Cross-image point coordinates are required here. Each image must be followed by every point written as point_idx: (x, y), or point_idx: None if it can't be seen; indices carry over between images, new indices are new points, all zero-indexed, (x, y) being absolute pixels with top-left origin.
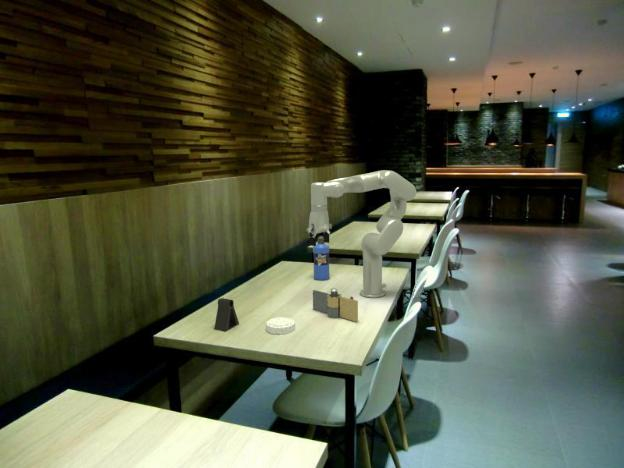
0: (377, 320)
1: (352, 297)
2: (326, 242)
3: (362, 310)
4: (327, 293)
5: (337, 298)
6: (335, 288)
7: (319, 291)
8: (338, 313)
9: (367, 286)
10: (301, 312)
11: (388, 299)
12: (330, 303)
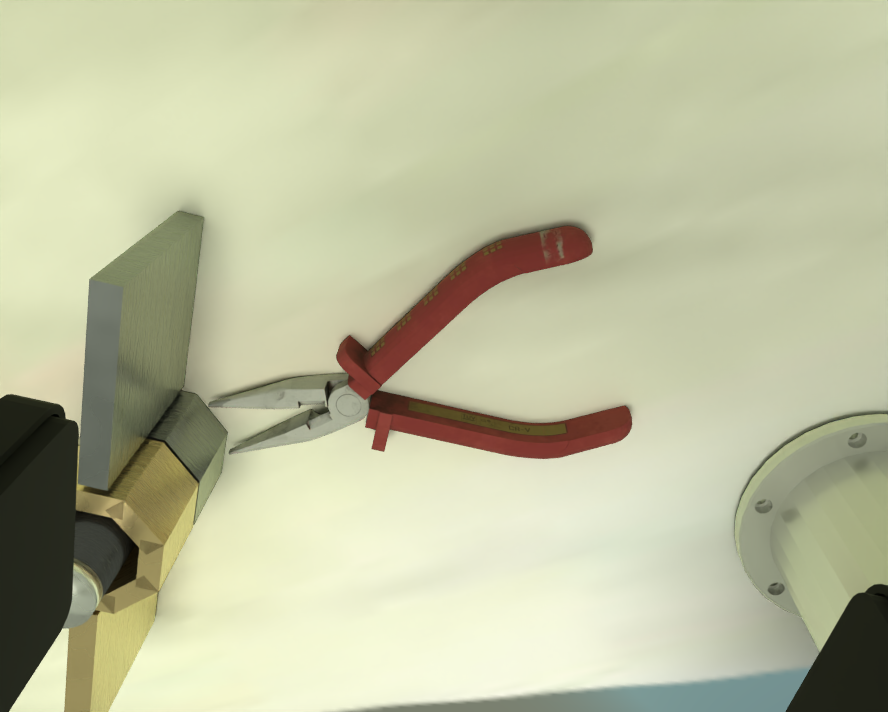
0: (253, 703)
1: (600, 445)
2: (797, 694)
3: (391, 573)
4: (103, 471)
5: None
6: (93, 597)
7: (110, 366)
8: None
9: (804, 566)
10: (51, 140)
11: (741, 655)
12: None
